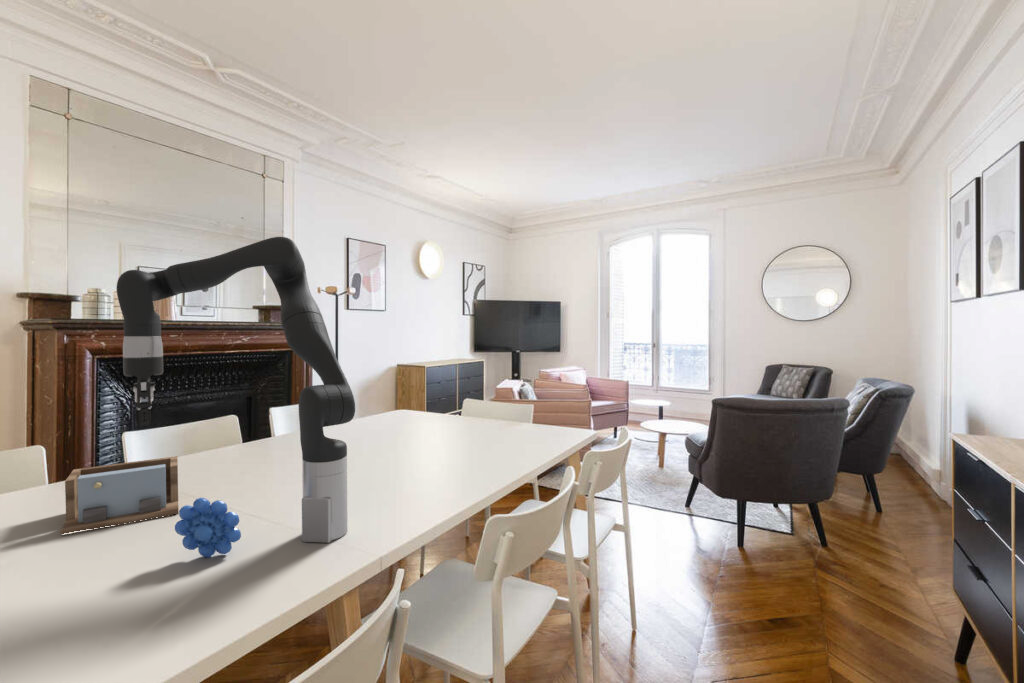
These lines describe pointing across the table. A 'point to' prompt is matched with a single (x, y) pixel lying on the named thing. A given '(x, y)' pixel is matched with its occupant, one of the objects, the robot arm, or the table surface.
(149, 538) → the table surface
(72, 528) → the cabinet
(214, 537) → the blue flower
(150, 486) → the door
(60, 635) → the table surface
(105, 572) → the table surface
